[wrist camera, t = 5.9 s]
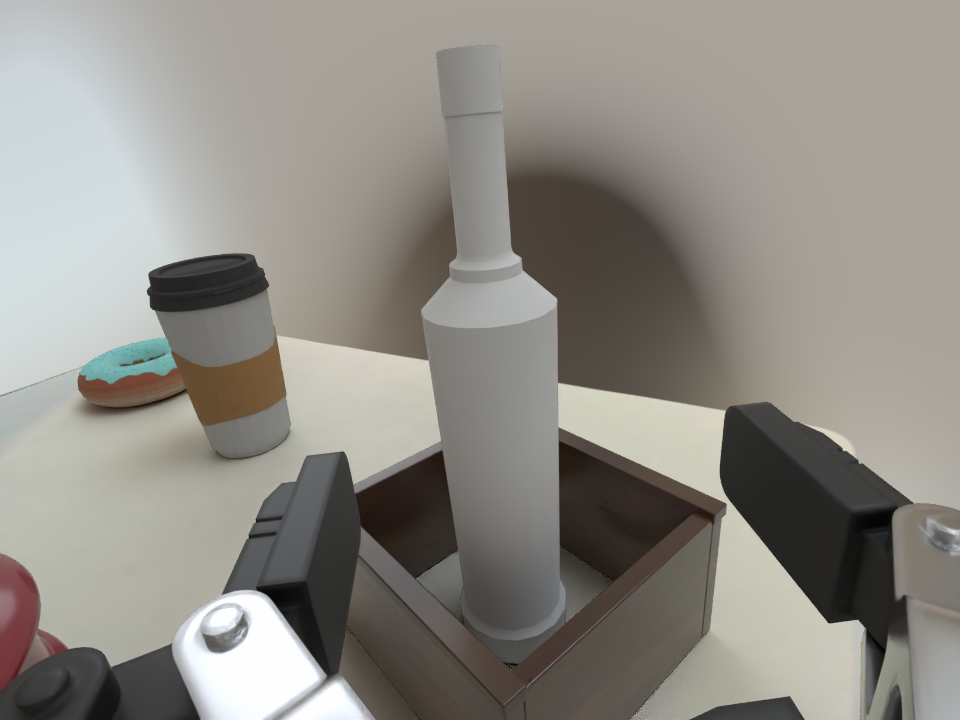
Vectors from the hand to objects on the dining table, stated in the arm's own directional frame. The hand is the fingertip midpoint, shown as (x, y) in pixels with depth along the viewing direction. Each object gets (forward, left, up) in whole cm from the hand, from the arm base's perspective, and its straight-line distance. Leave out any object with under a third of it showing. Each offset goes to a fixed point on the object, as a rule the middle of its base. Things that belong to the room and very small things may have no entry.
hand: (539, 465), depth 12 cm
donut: (-57, -1, -16) cm, 60 cm away
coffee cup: (-37, +3, -16) cm, 41 cm away
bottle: (-8, +6, -16) cm, 19 cm away
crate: (-8, +6, -16) cm, 19 cm away
